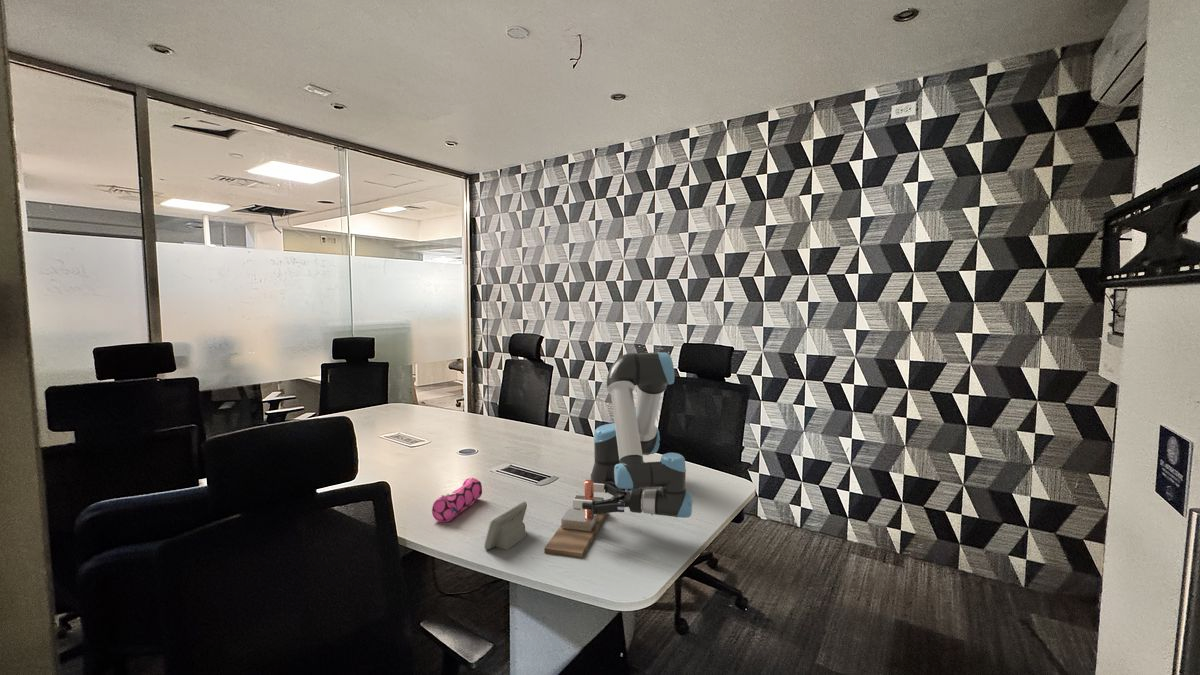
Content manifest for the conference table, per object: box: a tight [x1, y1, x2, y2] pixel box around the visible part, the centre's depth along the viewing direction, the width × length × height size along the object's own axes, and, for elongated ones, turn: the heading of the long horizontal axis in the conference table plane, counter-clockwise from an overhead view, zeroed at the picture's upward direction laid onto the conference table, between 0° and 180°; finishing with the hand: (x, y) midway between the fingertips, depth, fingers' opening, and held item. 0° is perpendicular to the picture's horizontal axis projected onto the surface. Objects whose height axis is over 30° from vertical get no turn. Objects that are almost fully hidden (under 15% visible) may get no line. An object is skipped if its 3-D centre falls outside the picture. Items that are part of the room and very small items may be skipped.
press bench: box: [543, 494, 608, 559], centre depth 157 cm, size 30×12×6 cm, turn 165°
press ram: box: [560, 479, 597, 532], centre depth 158 cm, size 8×10×15 cm
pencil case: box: [431, 477, 483, 523], centre depth 174 cm, size 21×10×10 cm, turn 166°
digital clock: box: [483, 501, 528, 551], centre depth 152 cm, size 16×9×11 cm, turn 138°
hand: (579, 494), depth 158 cm, fingers open, 13 cm apart
